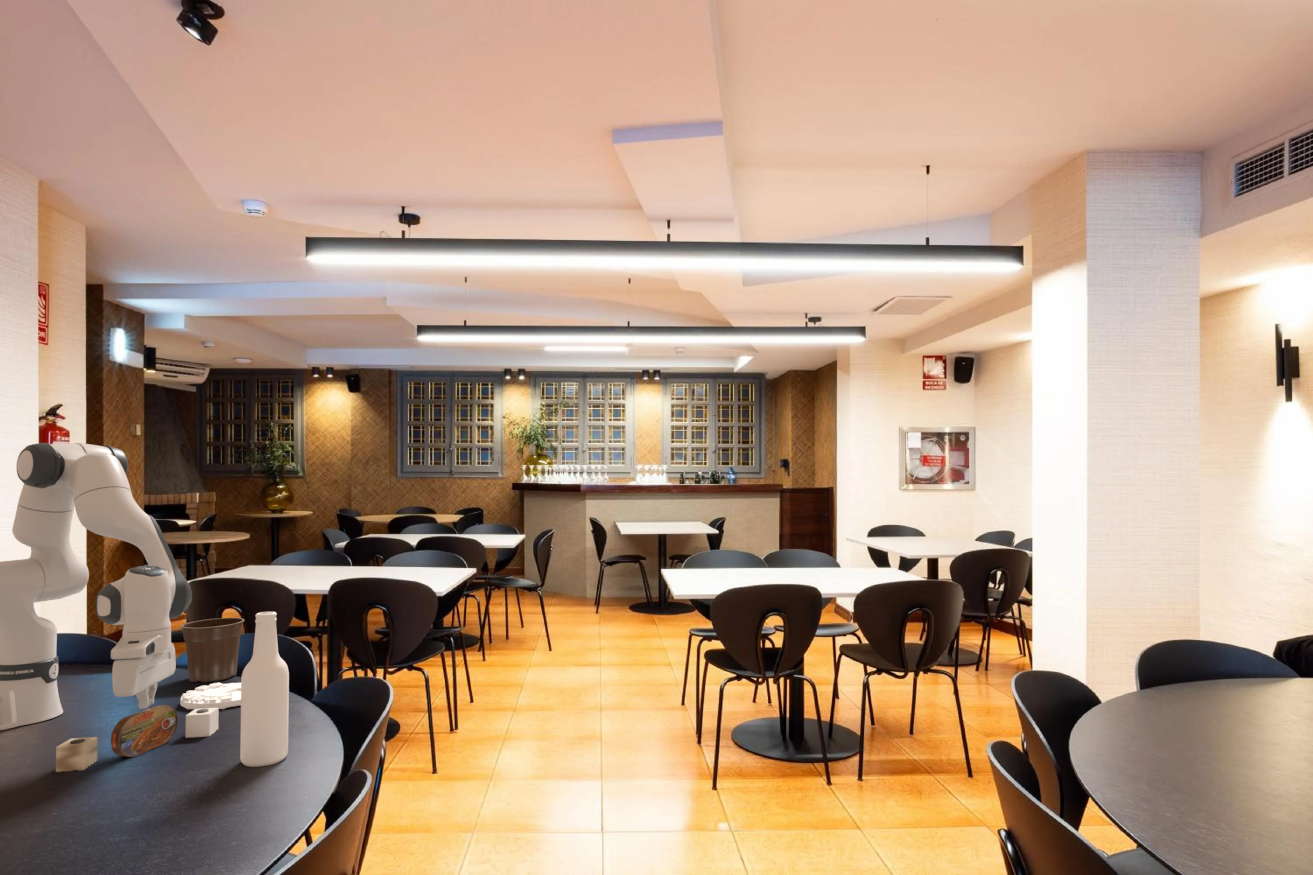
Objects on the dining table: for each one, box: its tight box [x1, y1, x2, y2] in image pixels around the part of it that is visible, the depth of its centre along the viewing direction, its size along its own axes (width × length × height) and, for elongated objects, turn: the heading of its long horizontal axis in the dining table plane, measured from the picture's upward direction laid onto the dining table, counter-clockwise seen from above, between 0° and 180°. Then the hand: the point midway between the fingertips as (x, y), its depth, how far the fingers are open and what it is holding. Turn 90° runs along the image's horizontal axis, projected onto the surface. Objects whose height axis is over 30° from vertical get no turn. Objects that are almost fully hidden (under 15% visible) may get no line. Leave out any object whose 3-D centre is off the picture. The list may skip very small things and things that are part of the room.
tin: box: [110, 704, 179, 758], centre depth 166 cm, size 15×3×8 cm, turn 168°
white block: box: [185, 708, 220, 739], centre depth 177 cm, size 5×5×5 cm
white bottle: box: [239, 611, 290, 768], centre depth 160 cm, size 9×9×30 cm
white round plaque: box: [180, 681, 241, 711], centre depth 203 cm, size 20×20×3 cm
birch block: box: [55, 736, 99, 773], centre depth 157 cm, size 5×5×5 cm
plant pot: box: [180, 617, 245, 683], centre depth 227 cm, size 16×16×16 cm
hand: (146, 706), depth 167 cm, fingers closed
